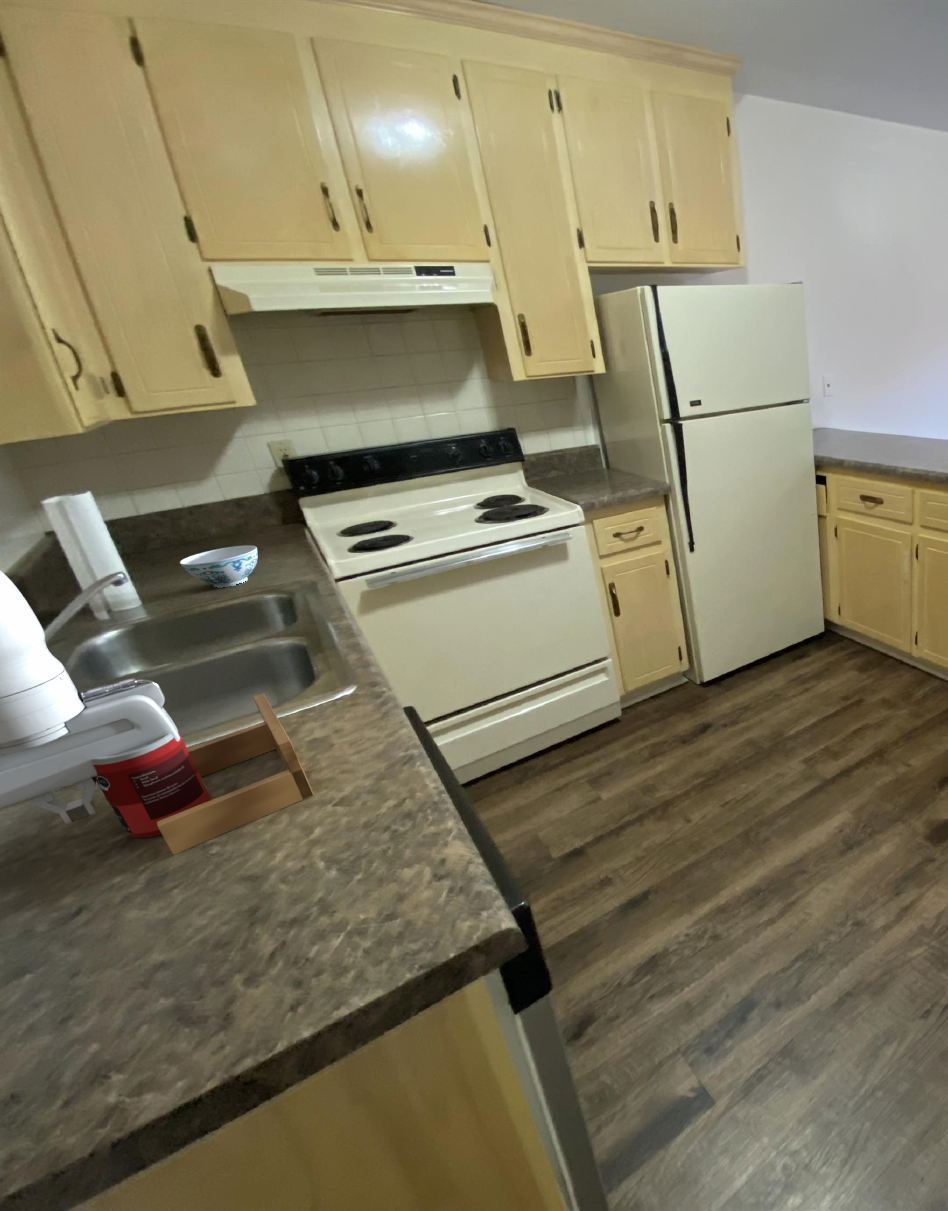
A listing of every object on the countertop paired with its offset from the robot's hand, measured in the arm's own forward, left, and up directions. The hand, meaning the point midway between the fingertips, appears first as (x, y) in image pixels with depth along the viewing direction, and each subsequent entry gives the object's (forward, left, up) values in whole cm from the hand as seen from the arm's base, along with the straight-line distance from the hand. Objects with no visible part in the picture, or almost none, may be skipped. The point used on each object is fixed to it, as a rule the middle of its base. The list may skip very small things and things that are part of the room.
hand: (82, 816), depth 73 cm
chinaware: (+25, +115, -4) cm, 118 cm away
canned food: (+6, 0, -4) cm, 8 cm away
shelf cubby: (+12, 0, -4) cm, 13 cm away
